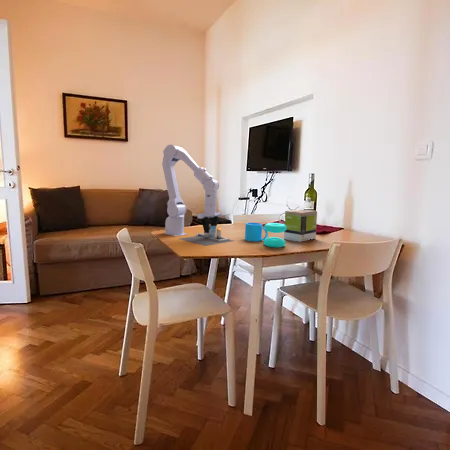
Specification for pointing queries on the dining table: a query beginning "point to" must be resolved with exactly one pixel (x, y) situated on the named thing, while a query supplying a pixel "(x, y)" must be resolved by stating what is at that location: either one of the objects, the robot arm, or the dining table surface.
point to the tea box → (300, 225)
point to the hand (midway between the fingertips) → (209, 232)
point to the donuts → (275, 240)
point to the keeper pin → (218, 234)
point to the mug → (254, 232)
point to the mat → (202, 240)
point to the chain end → (212, 234)
